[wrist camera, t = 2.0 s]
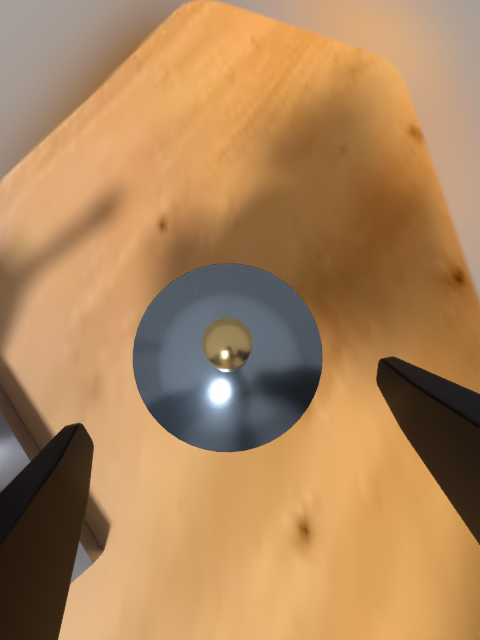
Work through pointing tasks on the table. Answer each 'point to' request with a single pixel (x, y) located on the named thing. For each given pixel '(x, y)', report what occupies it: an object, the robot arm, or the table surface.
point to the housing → (227, 357)
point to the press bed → (14, 455)
